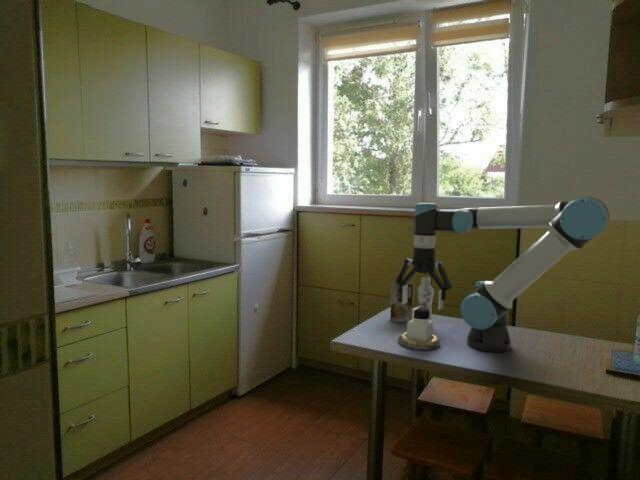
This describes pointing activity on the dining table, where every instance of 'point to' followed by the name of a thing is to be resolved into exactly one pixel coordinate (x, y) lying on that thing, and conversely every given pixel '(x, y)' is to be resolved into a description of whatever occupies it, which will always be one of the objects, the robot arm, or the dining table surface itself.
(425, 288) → the plastic bottle
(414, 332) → the medicine bottle
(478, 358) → the dining table surface
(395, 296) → the coffee box
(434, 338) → the ring
